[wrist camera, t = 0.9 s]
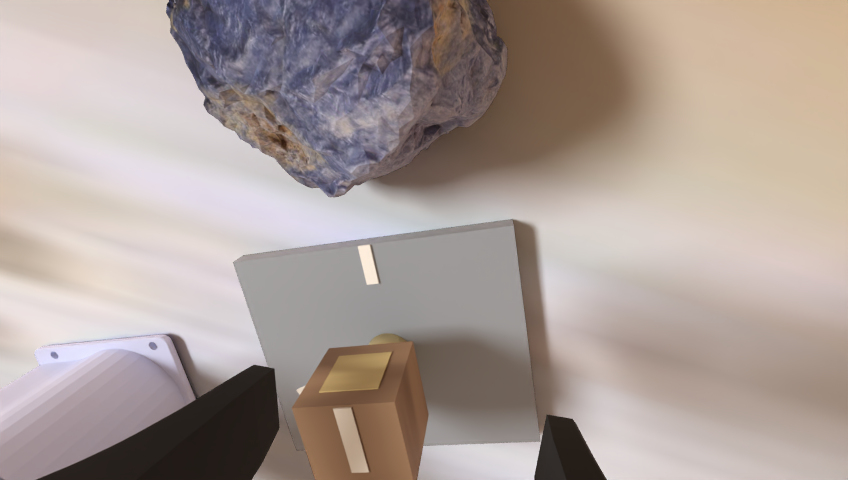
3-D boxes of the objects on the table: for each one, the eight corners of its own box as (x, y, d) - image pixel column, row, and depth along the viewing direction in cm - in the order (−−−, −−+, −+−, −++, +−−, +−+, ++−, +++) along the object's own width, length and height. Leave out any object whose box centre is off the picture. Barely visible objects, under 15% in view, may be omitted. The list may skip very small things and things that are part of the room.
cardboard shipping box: (348, 418, 21) (317, 491, 17) (328, 347, 20) (290, 408, 16) (428, 414, 20) (415, 489, 16) (412, 340, 19) (394, 402, 15)
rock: (341, -248, 13) (270, -250, 7) (517, 15, 19) (571, 152, 13) (176, -1, 19) (44, 135, 12) (355, 146, 24) (333, 292, 18)
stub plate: (303, 437, 26) (281, 479, 23) (243, 255, 23) (209, 278, 20) (538, 427, 24) (545, 472, 21) (512, 219, 20) (516, 240, 17)
